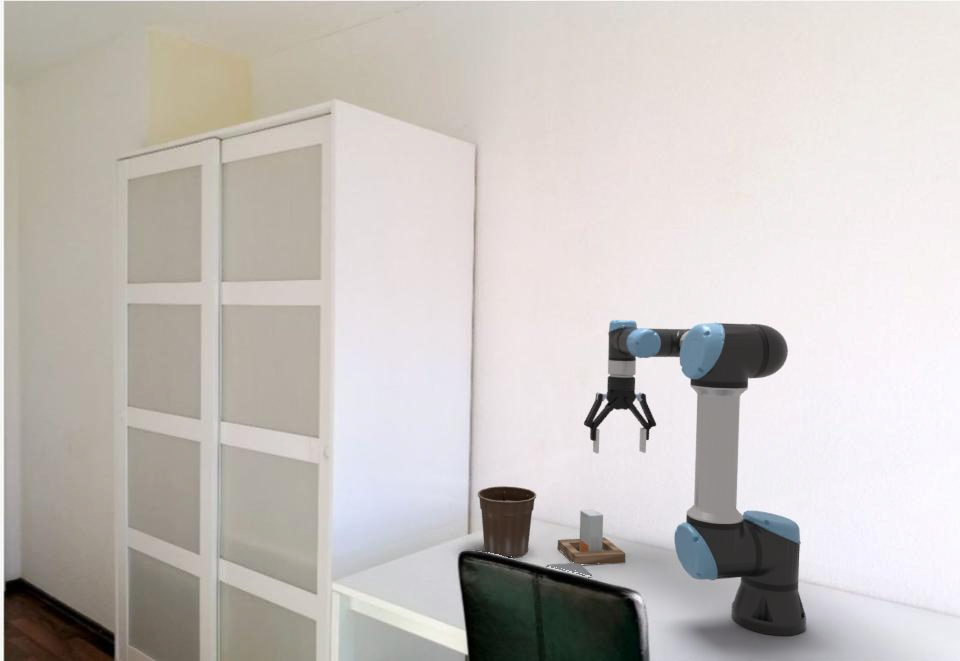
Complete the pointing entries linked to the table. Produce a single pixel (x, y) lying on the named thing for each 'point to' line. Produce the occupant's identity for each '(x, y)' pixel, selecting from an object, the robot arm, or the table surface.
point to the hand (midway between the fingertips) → (619, 452)
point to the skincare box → (591, 530)
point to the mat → (571, 568)
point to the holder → (594, 557)
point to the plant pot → (506, 519)
